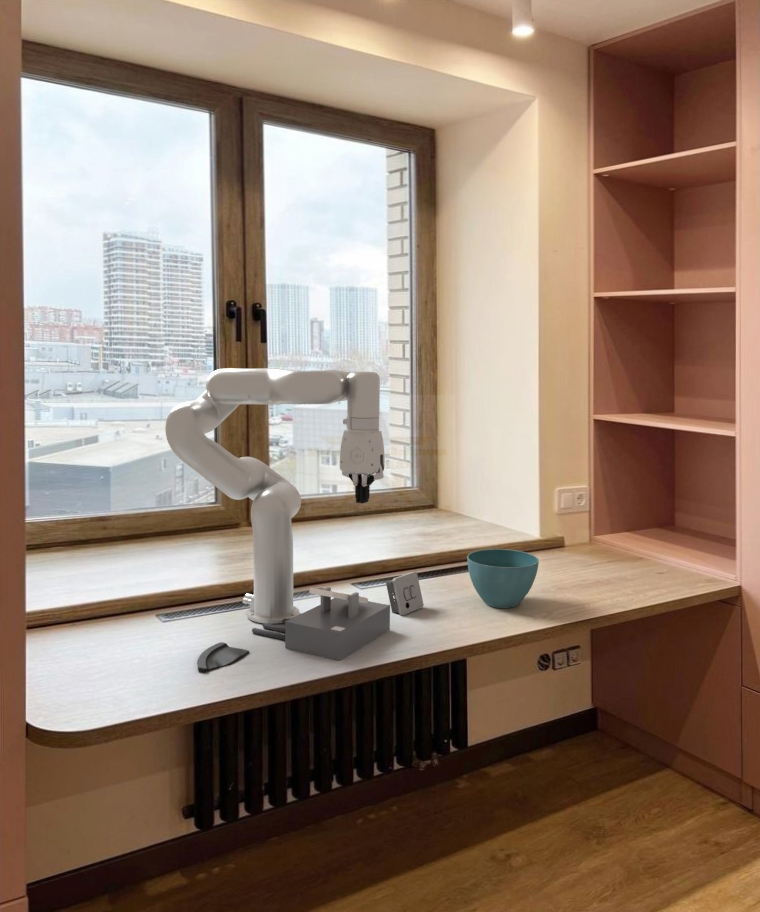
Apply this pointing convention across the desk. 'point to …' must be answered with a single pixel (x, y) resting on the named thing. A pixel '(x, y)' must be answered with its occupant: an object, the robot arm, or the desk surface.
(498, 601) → the plant pot
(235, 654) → the fan shaped piece
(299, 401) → the robot arm
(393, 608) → the electrical switch
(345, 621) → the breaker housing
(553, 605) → the desk surface
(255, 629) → the three grey prongs
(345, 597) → the breaker rocker
